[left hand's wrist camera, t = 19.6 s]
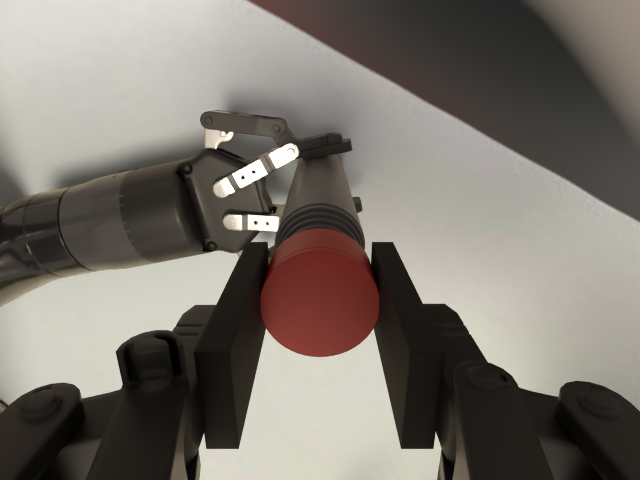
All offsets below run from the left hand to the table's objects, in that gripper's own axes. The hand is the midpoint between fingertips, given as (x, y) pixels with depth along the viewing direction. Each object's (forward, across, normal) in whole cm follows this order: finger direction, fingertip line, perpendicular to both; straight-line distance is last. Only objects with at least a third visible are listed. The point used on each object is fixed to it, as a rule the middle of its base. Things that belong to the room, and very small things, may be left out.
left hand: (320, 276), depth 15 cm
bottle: (+23, 0, 0) cm, 23 cm away
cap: (-2, 0, 0) cm, 2 cm away
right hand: (+17, -3, -1) cm, 17 cm away
